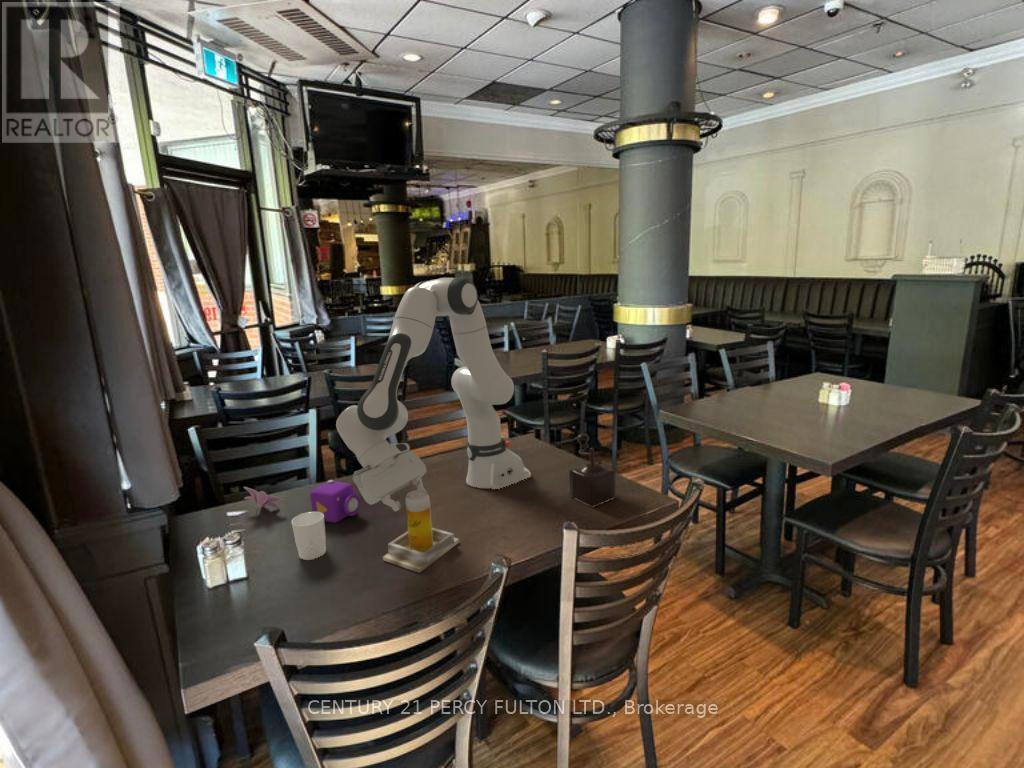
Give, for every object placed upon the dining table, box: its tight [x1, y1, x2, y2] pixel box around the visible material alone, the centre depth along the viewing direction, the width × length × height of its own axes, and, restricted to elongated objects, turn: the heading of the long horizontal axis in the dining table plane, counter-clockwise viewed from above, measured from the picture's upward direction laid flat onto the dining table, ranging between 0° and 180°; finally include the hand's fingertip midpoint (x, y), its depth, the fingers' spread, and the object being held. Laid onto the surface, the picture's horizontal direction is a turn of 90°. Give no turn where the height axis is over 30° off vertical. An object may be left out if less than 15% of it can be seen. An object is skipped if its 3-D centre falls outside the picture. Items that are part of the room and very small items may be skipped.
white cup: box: [290, 511, 327, 561], centre depth 136 cm, size 8×8×10 cm
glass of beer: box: [404, 489, 433, 553], centre depth 134 cm, size 6×6×15 cm
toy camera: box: [310, 479, 361, 524], centre depth 156 cm, size 11×14×10 cm
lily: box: [243, 486, 284, 521], centre depth 160 cm, size 12×12×10 cm
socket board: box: [382, 527, 460, 574], centre depth 136 cm, size 12×16×4 cm
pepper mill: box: [568, 433, 617, 506], centre depth 163 cm, size 16×11×18 cm
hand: (411, 501), depth 135 cm, fingers open, 8 cm apart
